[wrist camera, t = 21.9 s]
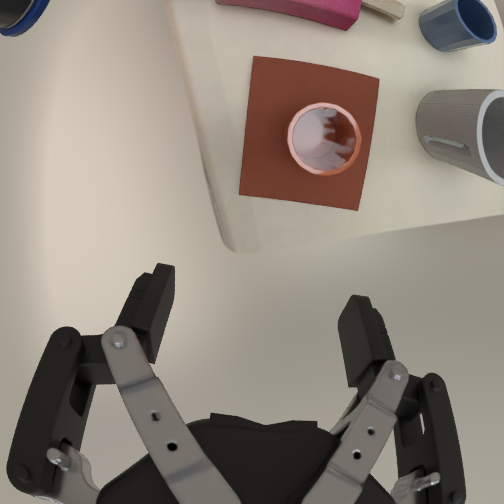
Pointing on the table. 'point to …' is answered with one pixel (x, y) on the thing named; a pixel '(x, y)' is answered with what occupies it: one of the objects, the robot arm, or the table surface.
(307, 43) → the table surface
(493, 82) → the table surface
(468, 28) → the blue tumbler
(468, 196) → the table surface
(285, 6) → the popsicle
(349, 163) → the terracotta tumbler
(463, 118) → the cup
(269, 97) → the clay mat
